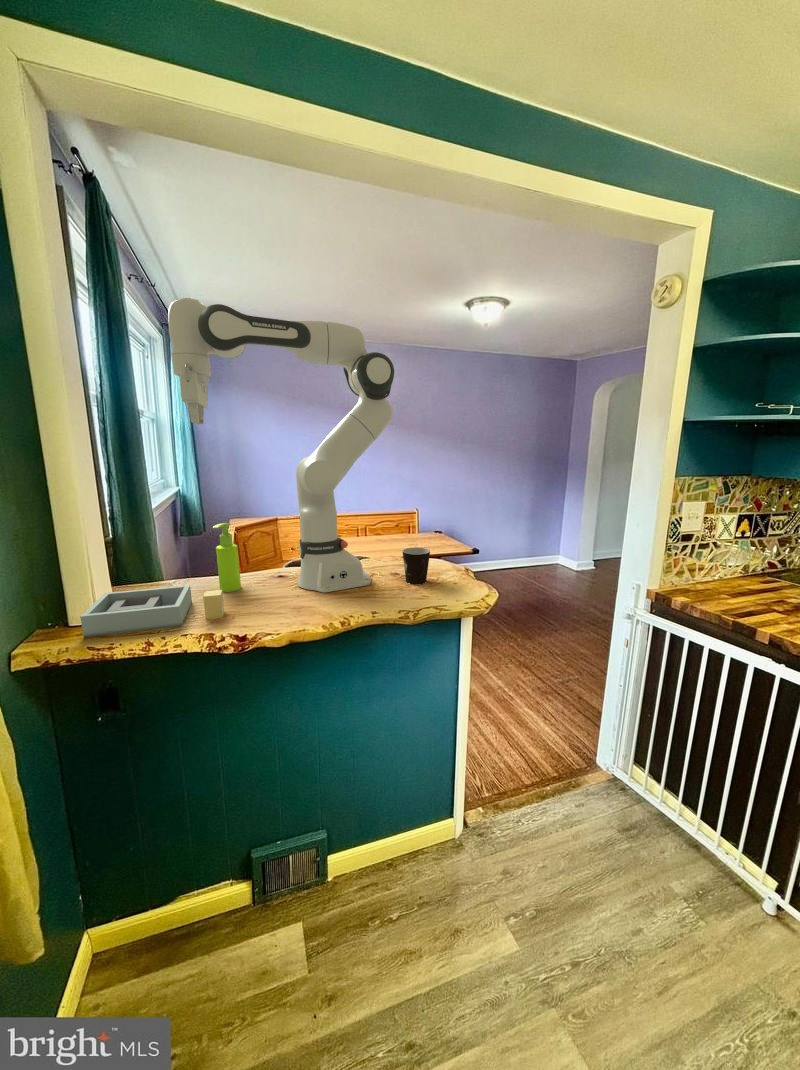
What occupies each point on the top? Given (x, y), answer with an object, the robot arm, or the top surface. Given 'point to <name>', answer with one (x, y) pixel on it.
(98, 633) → the caddy
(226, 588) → the soap dispenser
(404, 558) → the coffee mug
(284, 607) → the top surface
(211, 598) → the connector
